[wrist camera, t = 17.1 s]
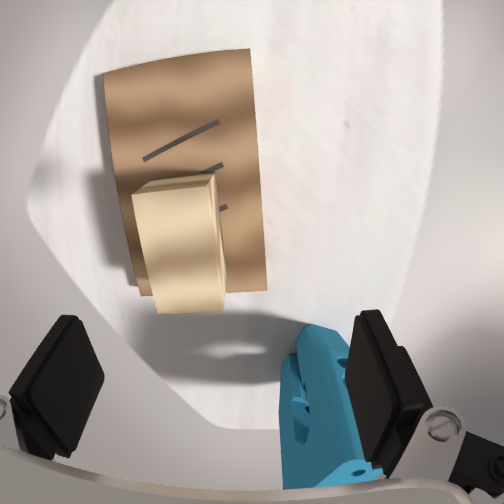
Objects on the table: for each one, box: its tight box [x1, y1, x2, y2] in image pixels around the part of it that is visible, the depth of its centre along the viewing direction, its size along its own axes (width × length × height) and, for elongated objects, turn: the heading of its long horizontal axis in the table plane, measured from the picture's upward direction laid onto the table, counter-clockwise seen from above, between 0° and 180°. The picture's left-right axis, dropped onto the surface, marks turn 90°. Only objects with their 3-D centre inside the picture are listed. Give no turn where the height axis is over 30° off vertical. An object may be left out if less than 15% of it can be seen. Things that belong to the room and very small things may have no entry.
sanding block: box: [131, 172, 228, 314], centre depth 29 cm, size 11×6×6 cm, turn 4°
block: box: [279, 324, 383, 490], centre depth 31 cm, size 12×5×20 cm, turn 160°
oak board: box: [103, 48, 267, 296], centre depth 31 cm, size 24×14×2 cm, turn 4°
